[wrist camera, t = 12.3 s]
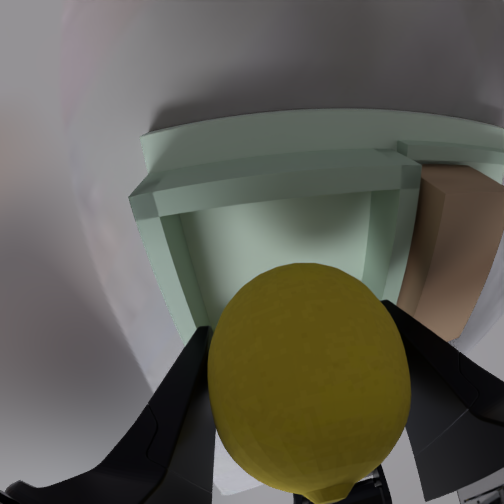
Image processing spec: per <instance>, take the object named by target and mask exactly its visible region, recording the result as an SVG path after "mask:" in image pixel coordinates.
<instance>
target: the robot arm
mask: <svg viewBox="0 0 504 504" xmlns="http://www.w3.org/2000/svg"><path fill="white" fill-rule="evenodd" d="M380 302H381V303H382V304H383V305H384V306H385V308H386V309H387V311H388V312H389V313H390V315H391V317H392V319H393V320H394V322H395V324H396V326H397V329H398V331H399V333H400V336H401V339H402V342H403V345H404V349H405V353H406V358H407V363H408V368H409V374H410V382H411V404H410V411H409V415H408V419H407V423H406V425H405V427H406V430H407V434H408V437H409V440H410V443H411V447H412V451H413V454H414V458H415V461H416V466H417V469H418V473H419V477H420V481H421V486H422V490H423V494H424V499H425V501H426V502H427V501H430V500H432V499H436V498H438V497H441V496H444V495H446V494H449V493H452V492H454V491H457V493H458V497H459V501H460V504H504V382H503V381H502V380H500V379H499V378H497V377H496V376H494V375H492V374H491V373H489V372H488V371H486V370H484V369H483V368H481V367H480V366H478V365H477V364H476V363H474V362H473V361H471V360H470V359H469V358H467V357H466V356H465V355H463V354H462V353H461V352H459V351H458V350H457V349H455V348H454V347H453V346H451V345H450V344H449V343H447V342H446V341H445V340H443V339H442V338H441V337H439V336H438V335H437V334H435V333H434V332H433V331H431V330H430V329H428V328H427V327H426V326H424V325H423V324H422V323H420V322H419V321H417V320H416V319H415V318H413V317H412V316H411V315H409V314H408V313H406V312H405V311H404V310H402V309H401V308H399V307H398V306H396V305H395V304H394V303H392V302H391V301H389V300H387V299H385V300H380ZM213 334H214V333H213V330H212V327H211V326H209V325H207V326H199V327H198V328H197V329H196V331H195V332H194V334H193V335H192V337H191V338H190V340H189V341H188V343H187V344H186V346H185V347H184V349H183V350H182V352H181V353H180V355H179V357H178V358H177V360H176V361H175V363H174V364H173V366H172V367H171V369H170V370H169V372H168V373H167V375H166V376H165V378H164V379H163V381H162V382H161V384H160V385H159V387H158V388H157V390H156V391H155V393H154V395H153V396H152V398H151V399H150V401H149V402H148V404H149V405H148V404H147V405H146V407H145V408H144V410H143V411H142V413H141V414H140V416H139V417H138V418H137V420H136V421H135V423H134V424H133V425H132V427H131V428H130V429H129V430H128V432H127V433H126V434H125V435H124V437H123V438H122V439H121V440H120V441H119V442H118V444H117V445H116V446H115V447H114V448H113V450H112V451H111V452H110V453H109V454H108V455H107V457H106V458H105V459H104V460H103V461H102V462H101V463H100V464H99V465H97V466H96V467H95V468H93V469H91V470H90V471H87V472H85V473H83V474H80V475H78V476H75V477H73V478H70V479H68V480H65V481H62V482H59V483H56V484H53V485H51V486H47V487H42V488H36V487H34V486H32V485H29V484H27V483H25V482H23V481H21V480H19V481H17V482H15V483H13V484H11V485H10V486H9V487H8V488H7V489H6V490H5V492H3V491H1V490H0V504H212V485H213V467H214V450H215V434H216V426H215V423H214V419H213V415H212V411H211V406H210V400H209V390H208V355H209V349H210V344H211V340H212V337H213ZM371 475H373V478H370V479H367V480H364V481H360V482H357V483H355V484H354V486H353V487H352V489H351V491H350V492H349V494H348V495H347V497H346V498H344V499H342V500H340V501H337V502H335V503H332V504H392V499H391V495H390V492H389V488H388V485H387V481H386V478H385V475H384V472H383V469H382V466H381V464H380V465H379V466H378V467H377V468H375V469H374V470H373V471H372V472H371V473H369V474H368V475H367V476H365V477H368V476H371ZM375 486H376V487H375ZM293 497H294V504H314V503H313V502H312V501H310V500H309V499H307V498H306V497H305V496H303V495H301V494H295V493H293Z"/></svg>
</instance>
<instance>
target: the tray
mask: <svg viewBox="0 0 504 504" xmlns="http://www.w3.org/2000/svg"><path fill="white" fill-rule="evenodd" d="M140 141H141V146H142V150H143V154H144V159H145V163H146V167H147V171H148V176H147V177H146V178H145V179H144V180H143V181H142V182H141V183H140V184H139V185H138V187H137V188H136V189H135V190H134V191H133V192H132V193H131V195H130V196H129V197H128V198H129V201H130V205H131V208H132V211H133V214H134V217H135V221H136V224H137V227H138V230H139V233H140V236H141V239H142V242H143V244H144V247H145V250H146V253H147V256H148V259H149V261H150V264H151V267H152V269H153V272H154V275H155V277H156V280H157V283H158V285H159V288H160V290H161V293H162V295H163V298H164V300H165V303H166V305H167V307H168V310H169V312H170V315H171V317H172V319H173V322H174V324H175V326H176V328H177V331H178V333H179V335H180V337H181V340H182V342H183V344H184V346H186V344H187V343H188V341H189V340H190V338H191V337H192V335H193V334H194V332H195V331H196V329H197V328H198V327H199V326H207V325H209V326H211V327H212V330H213V333H214V331H215V329H216V326H217V324H218V321H219V319H220V316H221V314H222V312H223V310H224V308H225V307H226V305H227V304H228V302H229V301H230V300H231V299H232V298H233V297H234V295H235V294H236V293H237V292H238V291H239V289H241V288H242V287H243V286H244V285H245V284H246V283H248V282H249V281H251V280H252V279H253V278H255V277H256V276H258V275H259V274H261V273H264V272H266V271H268V270H271V269H273V268H275V267H278V266H283V265H287V264H292V263H318V264H323V265H327V266H332V267H335V268H338V269H340V270H342V271H344V272H346V273H348V274H349V275H351V276H353V277H355V278H357V279H358V280H360V281H361V282H362V283H364V284H365V285H366V286H367V287H368V288H369V289H370V290H371V291H372V292H373V294H374V295H375V296H376V297H377V298H378V299H379V300H385V299H387V300H389V301H391V302H392V303H394V304H395V305H396V303H397V300H398V296H399V292H400V289H401V285H402V281H403V277H404V273H405V269H406V264H407V260H408V255H409V250H410V245H411V240H412V235H413V230H414V224H415V218H416V211H417V204H418V197H419V189H420V180H421V170H422V165H421V164H453V165H469V166H470V167H472V168H474V169H476V170H478V171H479V172H481V173H483V174H485V175H486V176H488V177H490V178H492V179H493V180H495V181H497V182H498V183H500V184H501V185H502V180H503V174H504V128H502V127H499V126H496V125H492V124H488V123H483V122H478V121H473V120H468V119H463V118H457V117H451V116H444V115H437V114H429V113H420V112H410V111H399V110H383V109H354V108H332V109H302V110H286V111H273V112H263V113H253V114H245V115H237V116H230V117H223V118H217V119H210V120H205V121H199V122H193V123H188V124H183V125H178V126H174V127H169V128H165V129H160V130H156V131H152V132H148V133H146V134H144V135H142V136H140Z"/></svg>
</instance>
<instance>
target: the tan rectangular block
mask: <svg viewBox="0 0 504 504" xmlns="http://www.w3.org/2000/svg"><path fill="white" fill-rule="evenodd" d="M421 165H422V170H421V180H420V189H419V197H418V204H417V211H416V218H415V224H414V230H413V235H412V240H411V245H410V250H409V255H408V260H407V264H406V269H405V273H404V277H403V281H402V285H401V289H400V292H399V296H398V300H397V303H396V306H398V307H399V308H401V309H402V310H404V311H405V312H406V313H408V314H409V315H411V316H412V317H413V318H415V319H416V320H417V321H419V322H420V323H422V324H423V325H424V326H426V327H427V328H428V329H430V330H431V331H433V332H434V333H435V334H437V335H438V336H439V337H441V338H442V339H443V340H445V341H446V342H448V341H451V340H453V339H456V338H459V336H460V334H461V333H462V331H463V329H464V327H465V325H466V323H467V321H468V319H469V317H470V315H471V313H472V311H473V309H474V307H475V305H476V303H477V300H478V298H479V296H480V294H481V291H482V289H483V287H484V284H485V282H486V279H487V277H488V274H489V272H490V269H491V267H492V264H493V261H494V258H495V255H496V253H497V250H498V247H499V243H500V240H501V237H502V234H503V230H504V186H503V185H501V184H500V183H498V182H497V181H495V180H493V179H492V178H490V177H488V176H486V175H485V174H483V173H481V172H479V171H478V170H476V169H474V168H472V167H470V166H469V165H453V164H421Z"/></svg>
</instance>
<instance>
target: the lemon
mask: <svg viewBox="0 0 504 504" xmlns="http://www.w3.org/2000/svg"><path fill="white" fill-rule="evenodd" d="M208 390H209V400H210V406H211V411H212V415H213V419H214V423H215V426H216V429H217V432H218V435H219V437H220V439H221V441H222V443H223V445H224V447H225V449H226V450H227V452H228V453H229V454H230V456H231V457H232V459H233V460H234V461H235V462H236V463H237V464H238V465H239V466H240V467H241V468H242V469H243V470H245V471H246V472H247V473H248V474H249V475H251V476H252V477H254V478H255V479H257V480H258V481H260V482H262V483H264V484H266V485H268V486H270V487H272V488H275V489H279V490H282V491H286V492H290V493H295V494H301V495H303V496H305V497H306V498H307V499H309V500H310V501H312V502H313V503H314V504H332V503H335V502H337V501H340V500H342V499H344V498H346V497H347V495H348V494H349V492H350V491H351V489H352V487H353V486H354V484H355V483H357V482H358V481H360V480H361V479H362V478H364V477H365V476H367V475H368V474H369V473H371V472H372V471H373V470H374V469H375V468H377V467H378V466H379V465H380V464H381V463H382V462H383V461H384V459H385V458H386V457H387V456H388V455H389V454H390V452H391V451H392V449H393V447H394V446H395V444H396V443H397V441H398V440H399V438H400V436H401V434H402V432H403V430H404V427H405V425H406V423H407V419H408V415H409V411H410V404H411V382H410V374H409V368H408V363H407V358H406V353H405V349H404V345H403V342H402V339H401V336H400V333H399V331H398V329H397V326H396V324H395V322H394V320H393V319H392V317H391V315H390V313H389V312H388V311H387V309H386V308H385V306H384V305H383V304H382V303H381V302H380V300H379V299H378V298H377V297H376V296H375V295H374V294H373V292H372V291H371V290H370V289H369V288H368V287H367V286H366V285H365V284H364V283H362V282H361V281H360V280H358V279H357V278H355V277H353V276H351V275H349V274H348V273H346V272H344V271H342V270H340V269H338V268H335V267H332V266H327V265H323V264H318V263H292V264H287V265H283V266H278V267H275V268H273V269H271V270H268V271H266V272H264V273H261V274H259V275H258V276H256V277H255V278H253V279H252V280H251V281H249V282H248V283H246V284H245V285H244V286H243V287H242V288H241V289H239V291H238V292H237V293H236V294H235V295H234V297H233V298H232V299H231V300H230V301H229V302H228V304H227V305H226V307H225V308H224V310H223V312H222V314H221V316H220V319H219V321H218V324H217V326H216V329H215V331H214V334H213V337H212V340H211V344H210V349H209V355H208Z"/></svg>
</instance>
